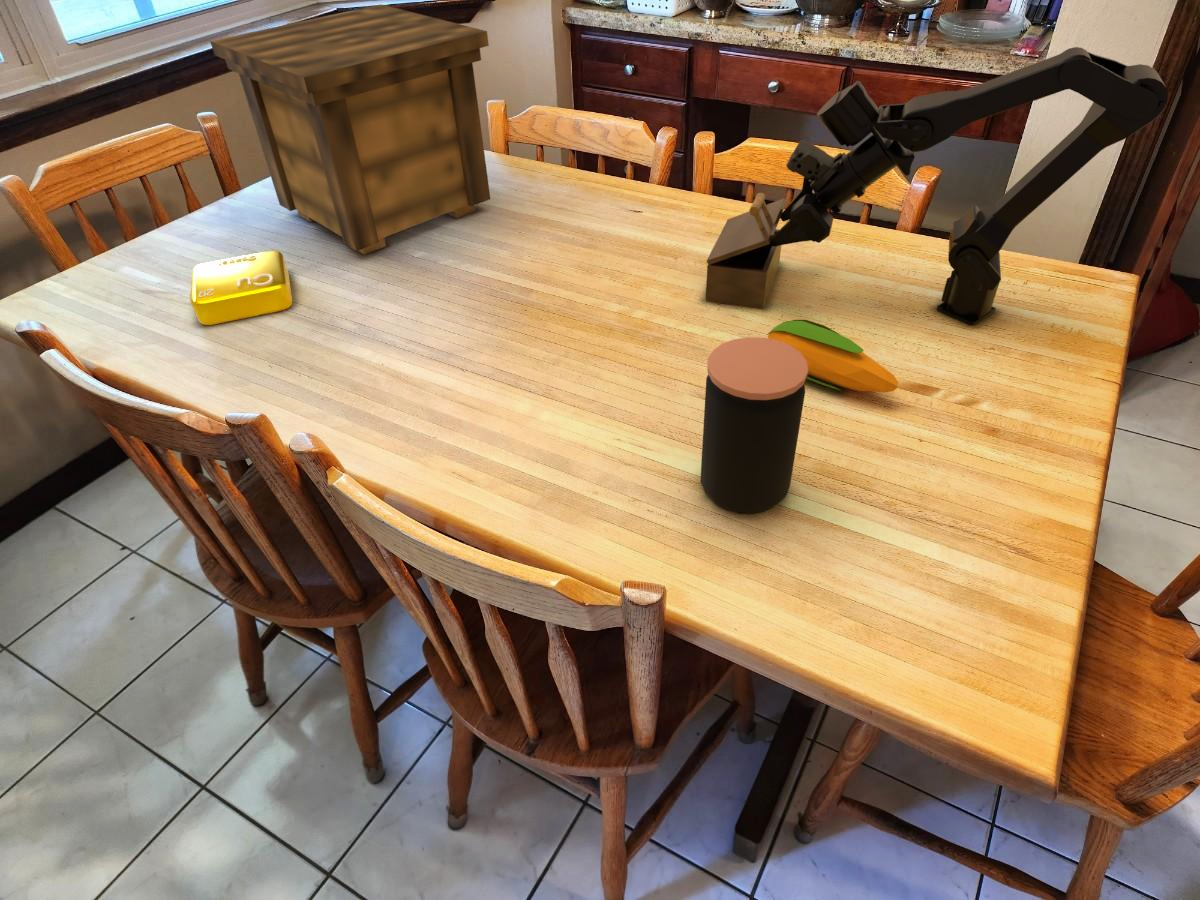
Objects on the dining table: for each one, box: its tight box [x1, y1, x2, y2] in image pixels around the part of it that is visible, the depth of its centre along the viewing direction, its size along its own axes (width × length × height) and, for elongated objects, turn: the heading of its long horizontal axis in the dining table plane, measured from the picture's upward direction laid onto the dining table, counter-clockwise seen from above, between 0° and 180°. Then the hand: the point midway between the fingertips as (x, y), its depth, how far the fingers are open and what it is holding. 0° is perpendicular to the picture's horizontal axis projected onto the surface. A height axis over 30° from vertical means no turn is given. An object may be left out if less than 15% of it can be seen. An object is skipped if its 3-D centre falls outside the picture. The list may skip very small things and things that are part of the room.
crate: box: [209, 4, 491, 256], centre depth 150 cm, size 35×35×33 cm
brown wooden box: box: [705, 228, 783, 310], centre depth 132 cm, size 9×16×6 cm, turn 161°
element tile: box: [189, 250, 293, 326], centre depth 135 cm, size 15×15×5 cm
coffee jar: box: [699, 336, 809, 515], centre depth 90 cm, size 11×11×18 cm
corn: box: [767, 319, 899, 393], centre depth 110 cm, size 7×8×20 cm
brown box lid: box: [706, 192, 787, 266], centre depth 127 cm, size 10×16×5 cm
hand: (776, 231), depth 126 cm, fingers open, 9 cm apart
